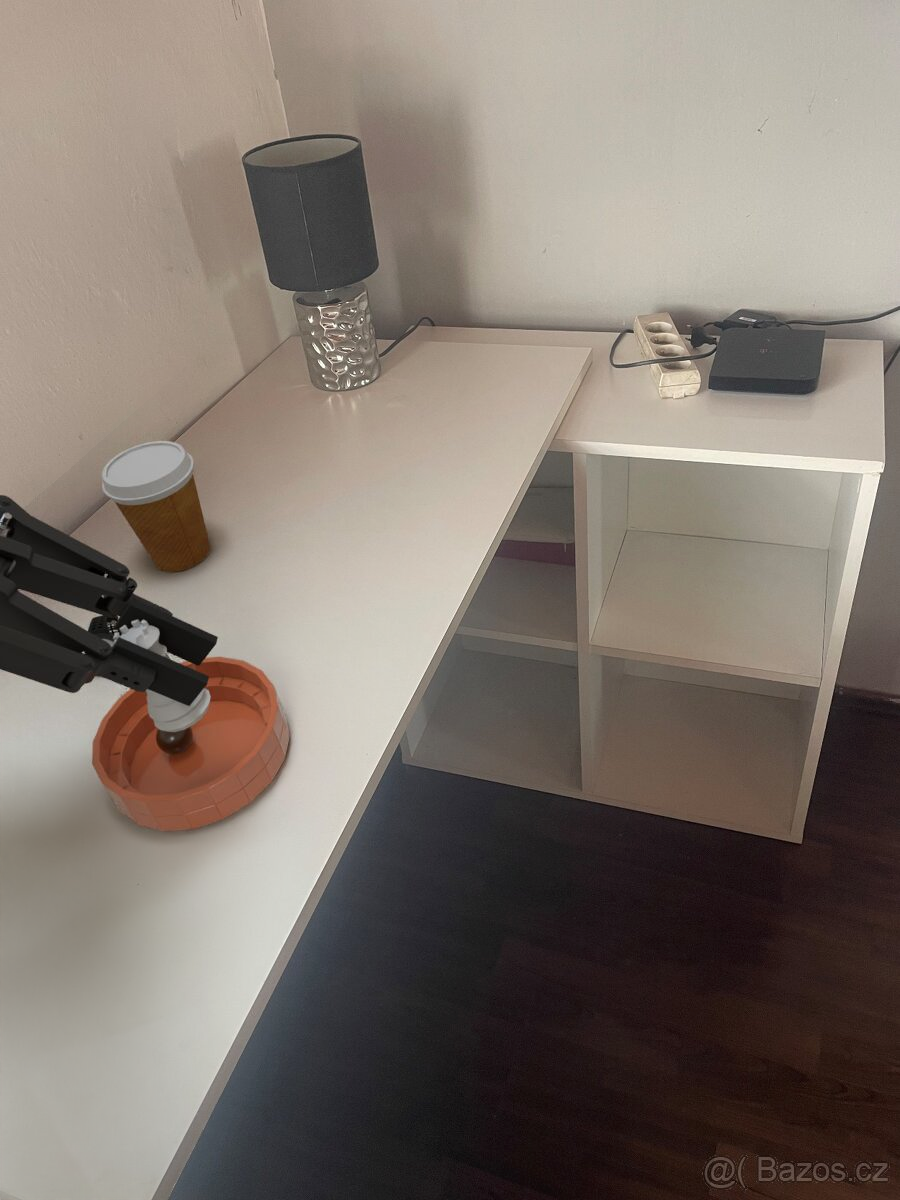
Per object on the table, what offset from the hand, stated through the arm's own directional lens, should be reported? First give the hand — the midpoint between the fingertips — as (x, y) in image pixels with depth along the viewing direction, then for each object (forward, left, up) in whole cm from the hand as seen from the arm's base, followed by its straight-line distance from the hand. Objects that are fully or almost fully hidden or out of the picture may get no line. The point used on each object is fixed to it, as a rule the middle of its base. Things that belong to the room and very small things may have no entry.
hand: (203, 670), depth 62 cm
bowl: (+2, +6, -14) cm, 15 cm away
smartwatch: (+11, +21, -14) cm, 28 cm away
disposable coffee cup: (+27, +24, -14) cm, 39 cm away
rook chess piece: (-1, +2, -4) cm, 4 cm away
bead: (+2, +8, -12) cm, 14 cm away
